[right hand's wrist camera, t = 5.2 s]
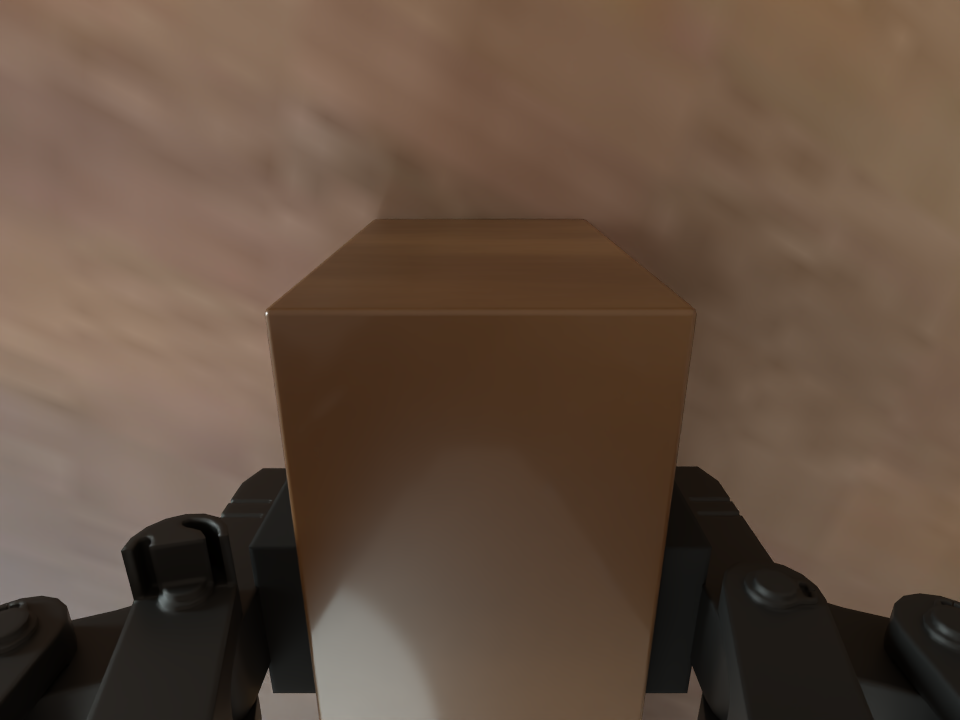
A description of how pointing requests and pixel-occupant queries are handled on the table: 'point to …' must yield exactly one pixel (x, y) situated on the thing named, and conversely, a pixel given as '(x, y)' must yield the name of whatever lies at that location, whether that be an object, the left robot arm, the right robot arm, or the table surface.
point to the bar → (480, 467)
